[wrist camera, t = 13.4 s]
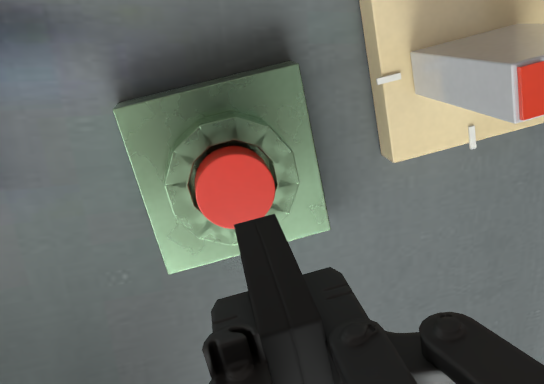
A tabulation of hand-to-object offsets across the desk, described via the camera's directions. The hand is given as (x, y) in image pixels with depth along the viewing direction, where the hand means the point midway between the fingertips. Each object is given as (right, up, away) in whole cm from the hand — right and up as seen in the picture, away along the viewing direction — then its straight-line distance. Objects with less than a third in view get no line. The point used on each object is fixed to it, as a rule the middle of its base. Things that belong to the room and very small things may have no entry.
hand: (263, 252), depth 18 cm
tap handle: (+11, +10, +10) cm, 18 cm away
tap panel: (+11, +10, +12) cm, 19 cm away
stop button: (-2, +3, +9) cm, 9 cm away
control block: (-2, +4, +12) cm, 13 cm away
